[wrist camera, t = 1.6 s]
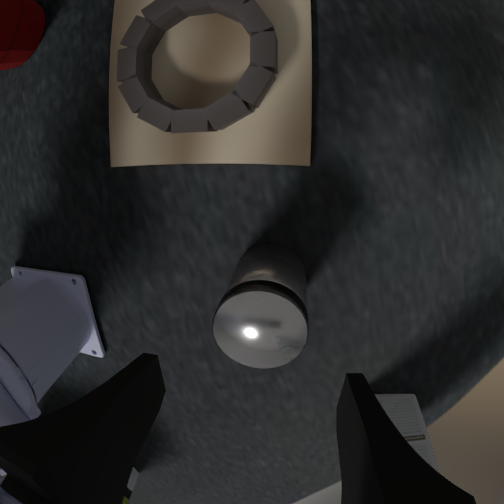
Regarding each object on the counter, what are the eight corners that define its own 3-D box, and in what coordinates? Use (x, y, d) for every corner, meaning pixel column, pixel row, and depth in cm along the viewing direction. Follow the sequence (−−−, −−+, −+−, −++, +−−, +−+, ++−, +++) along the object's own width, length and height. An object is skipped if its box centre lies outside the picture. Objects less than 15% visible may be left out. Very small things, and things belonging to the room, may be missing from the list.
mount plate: (115, 165, 18) (93, 172, 16) (120, -3, 14) (99, -15, 12) (309, 164, 17) (311, 170, 15) (308, -26, 12) (309, -46, 10)
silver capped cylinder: (235, 304, 21) (214, 364, 15) (234, 240, 19) (209, 287, 14) (303, 309, 20) (303, 372, 15) (309, 245, 19) (313, 294, 13)
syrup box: (353, 392, 23) (366, 560, 9) (417, 391, 22) (455, 542, 9) (338, 432, 25) (340, 574, 12) (396, 430, 24) (416, 562, 11)
